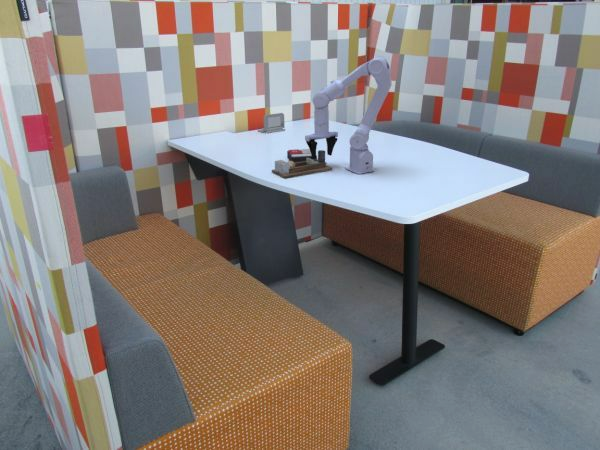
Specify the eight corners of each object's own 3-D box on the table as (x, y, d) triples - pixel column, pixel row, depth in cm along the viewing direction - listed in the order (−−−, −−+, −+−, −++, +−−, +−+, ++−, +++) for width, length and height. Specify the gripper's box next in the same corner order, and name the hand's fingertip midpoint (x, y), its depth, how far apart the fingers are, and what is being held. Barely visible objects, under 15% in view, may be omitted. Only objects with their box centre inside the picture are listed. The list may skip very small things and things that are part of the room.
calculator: (311, 148, 227) (317, 154, 213) (311, 157, 228) (317, 164, 214) (286, 149, 226) (291, 155, 212) (287, 158, 227) (291, 165, 213)
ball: (296, 161, 199) (287, 163, 197) (297, 170, 200) (289, 173, 199) (291, 158, 202) (283, 161, 200) (292, 168, 203) (284, 170, 202)
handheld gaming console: (276, 128, 288) (275, 110, 284) (285, 131, 281) (284, 112, 278) (256, 131, 281) (255, 113, 277) (265, 134, 274) (264, 115, 271)
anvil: (290, 173, 197) (289, 163, 196) (283, 174, 196) (283, 164, 194) (281, 169, 203) (281, 160, 201) (275, 170, 201) (274, 161, 200)
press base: (332, 170, 204) (332, 163, 203) (284, 178, 194) (284, 171, 193) (317, 164, 213) (317, 157, 212) (271, 172, 203) (271, 165, 202)
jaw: (327, 165, 207) (327, 151, 204) (311, 168, 203) (311, 154, 201) (321, 163, 210) (321, 149, 208) (306, 165, 207) (306, 152, 204)
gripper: (331, 119, 208) (331, 152, 213) (300, 123, 201) (301, 156, 206) (340, 122, 202) (340, 155, 207) (310, 126, 195) (310, 160, 200)
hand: (321, 156), depth 206 cm, fingers open, 7 cm apart
